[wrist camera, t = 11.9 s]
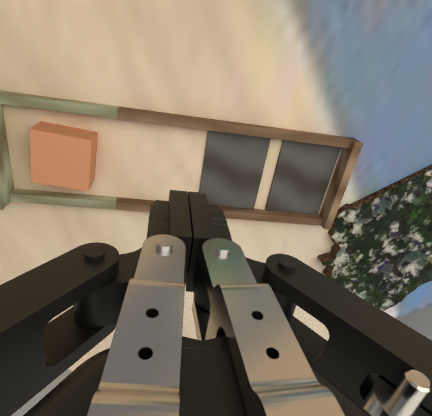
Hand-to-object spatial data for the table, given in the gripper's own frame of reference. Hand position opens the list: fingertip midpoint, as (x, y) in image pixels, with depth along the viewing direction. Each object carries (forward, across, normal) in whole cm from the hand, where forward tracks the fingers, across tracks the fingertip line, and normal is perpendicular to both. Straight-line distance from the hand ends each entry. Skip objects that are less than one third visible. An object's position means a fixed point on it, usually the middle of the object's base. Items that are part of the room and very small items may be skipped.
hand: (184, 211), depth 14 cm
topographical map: (+33, -44, +18) cm, 57 cm away
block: (+32, +13, +10) cm, 36 cm away
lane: (+32, -2, +10) cm, 34 cm away
